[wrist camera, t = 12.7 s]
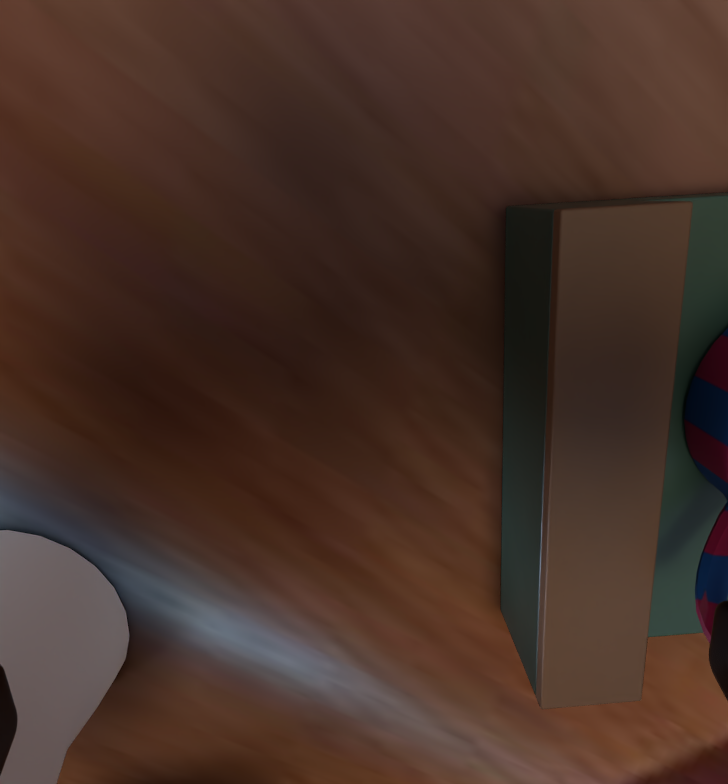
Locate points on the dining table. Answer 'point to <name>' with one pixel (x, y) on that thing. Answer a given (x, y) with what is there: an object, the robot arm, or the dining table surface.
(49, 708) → the cup
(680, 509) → the green l-shaped stand
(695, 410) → the cup
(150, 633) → the dining table surface
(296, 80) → the dining table surface
